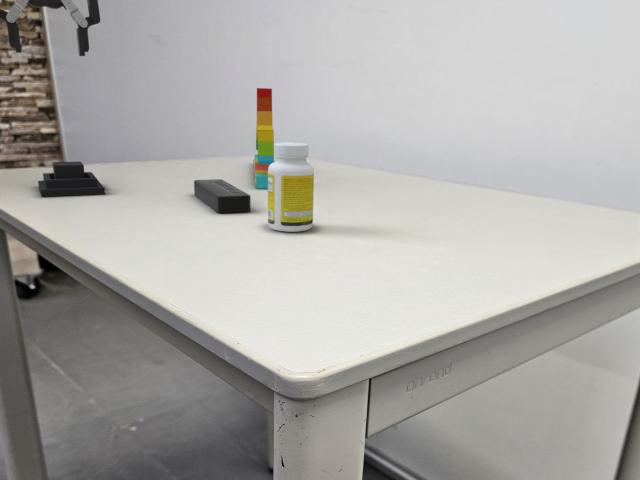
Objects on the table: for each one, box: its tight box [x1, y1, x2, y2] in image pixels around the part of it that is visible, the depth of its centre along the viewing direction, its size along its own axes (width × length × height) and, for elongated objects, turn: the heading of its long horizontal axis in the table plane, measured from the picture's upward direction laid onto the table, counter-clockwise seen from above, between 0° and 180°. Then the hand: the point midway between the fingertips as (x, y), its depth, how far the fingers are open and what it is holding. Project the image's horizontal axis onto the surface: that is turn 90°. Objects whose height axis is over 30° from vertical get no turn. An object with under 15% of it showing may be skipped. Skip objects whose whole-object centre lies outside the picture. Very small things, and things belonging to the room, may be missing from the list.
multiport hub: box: [193, 178, 251, 215], centre depth 89 cm, size 4×14×2 cm, turn 24°
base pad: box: [37, 171, 106, 198], centre depth 94 cm, size 9×9×2 cm
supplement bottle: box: [267, 141, 315, 233], centre depth 75 cm, size 5×5×10 cm
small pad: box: [52, 161, 85, 179], centre depth 94 cm, size 4×4×3 cm
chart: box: [253, 87, 275, 190], centre depth 113 cm, size 30×3×15 cm, turn 7°
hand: (51, 54), depth 92 cm, fingers open, 8 cm apart
